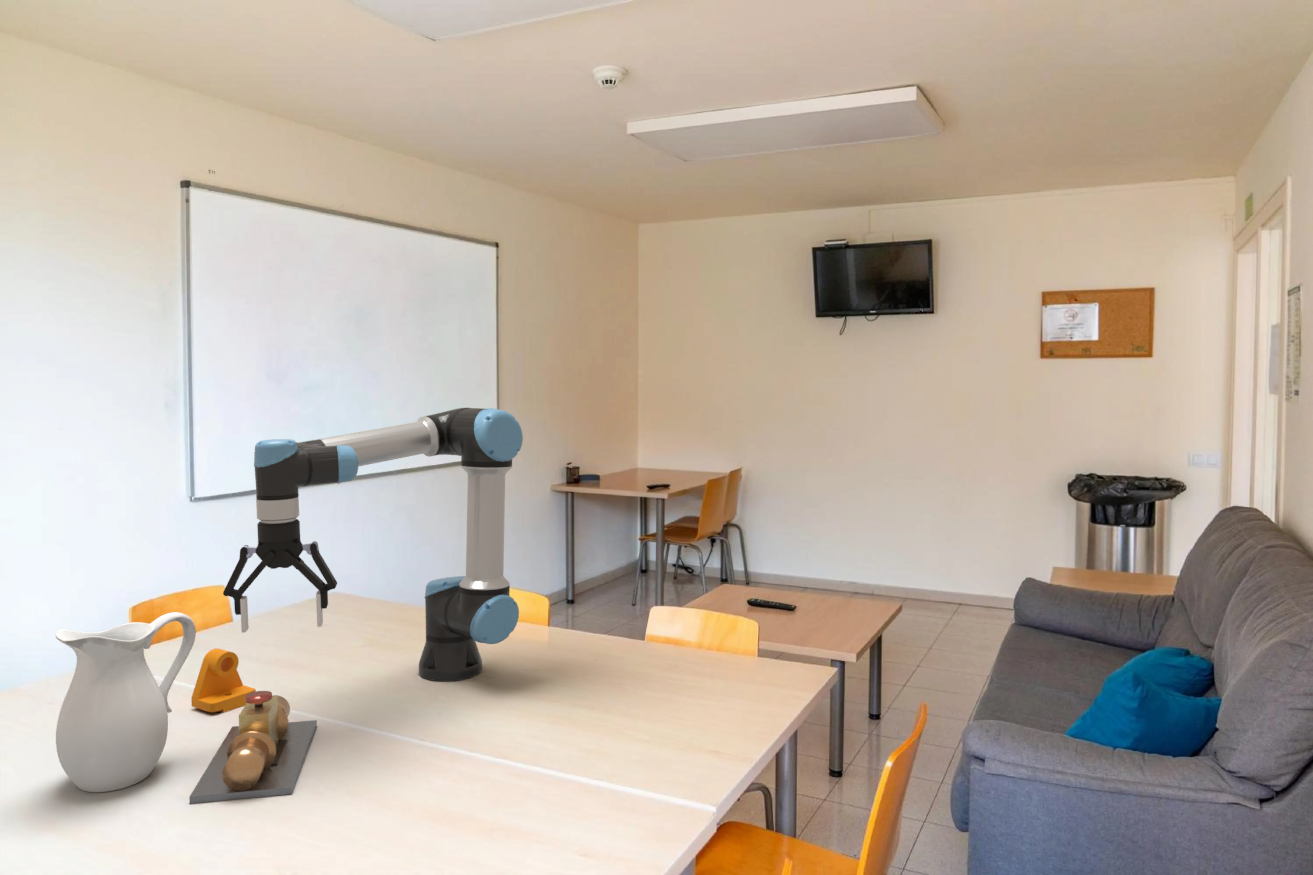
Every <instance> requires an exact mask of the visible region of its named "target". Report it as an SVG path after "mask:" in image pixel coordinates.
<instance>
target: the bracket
mask: <svg viewBox="0 0 1313 875" xmlns="http://www.w3.org/2000/svg"><path fill="white" fill-rule="evenodd" d="M238 667H239V657H238V655H237V654H236V653H235V652H232V651H229V650H225V649H221V648H213V649H211V650H209V651H208V652H207V653H206V654H205V655H204V657H203V660H202V663H201V666H200V669H199V673H198V675H197V679H196V682H195V684H194V685H195V686H194V688H193V692H192V695H191V707H192V708H195V709H199V710H203V711H204V712H205V711H206V712H208V713H217V712H220V713H223V714H224V713H226V712H230V711H232V710H236V709H238V708H241V707H244V706H245V705H246V702H245V696H246V695H247V694H249V693H252V692H256V688H255V687H251V686H247V685H244V684H243V682H242V679H241V676H240V674H239V671H238Z"/></svg>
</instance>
